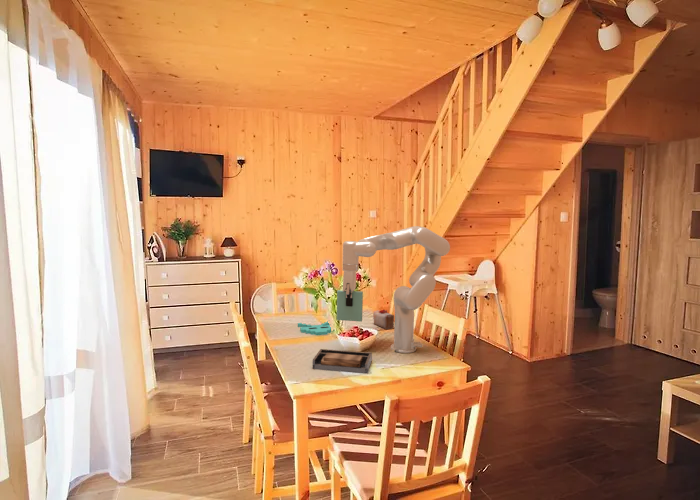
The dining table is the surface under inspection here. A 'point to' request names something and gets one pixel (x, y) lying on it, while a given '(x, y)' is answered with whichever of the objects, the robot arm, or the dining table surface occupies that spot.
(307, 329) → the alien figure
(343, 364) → the middle offcut
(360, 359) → the top offcut
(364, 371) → the dark grey tray
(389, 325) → the food item
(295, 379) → the dining table surface
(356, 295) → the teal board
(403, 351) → the robot arm
